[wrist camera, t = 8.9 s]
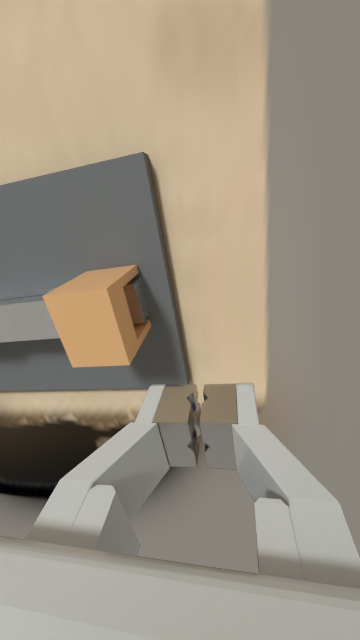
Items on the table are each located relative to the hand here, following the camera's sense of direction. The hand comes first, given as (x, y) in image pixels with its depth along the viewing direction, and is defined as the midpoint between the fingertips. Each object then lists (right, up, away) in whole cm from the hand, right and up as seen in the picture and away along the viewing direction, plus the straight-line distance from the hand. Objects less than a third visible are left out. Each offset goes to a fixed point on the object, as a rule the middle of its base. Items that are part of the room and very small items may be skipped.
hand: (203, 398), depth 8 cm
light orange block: (-5, +4, +11) cm, 13 cm away
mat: (-17, +4, +15) cm, 23 cm away
